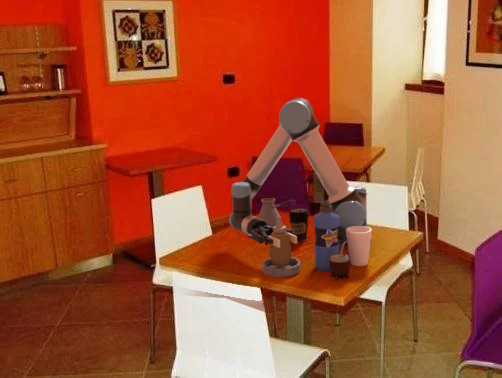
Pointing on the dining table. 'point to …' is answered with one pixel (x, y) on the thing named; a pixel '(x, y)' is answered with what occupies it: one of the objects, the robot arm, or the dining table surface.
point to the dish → (281, 268)
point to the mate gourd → (339, 264)
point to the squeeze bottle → (282, 254)
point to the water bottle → (326, 236)
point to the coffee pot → (270, 211)
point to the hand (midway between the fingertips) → (287, 241)
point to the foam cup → (359, 244)
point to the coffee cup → (299, 223)
